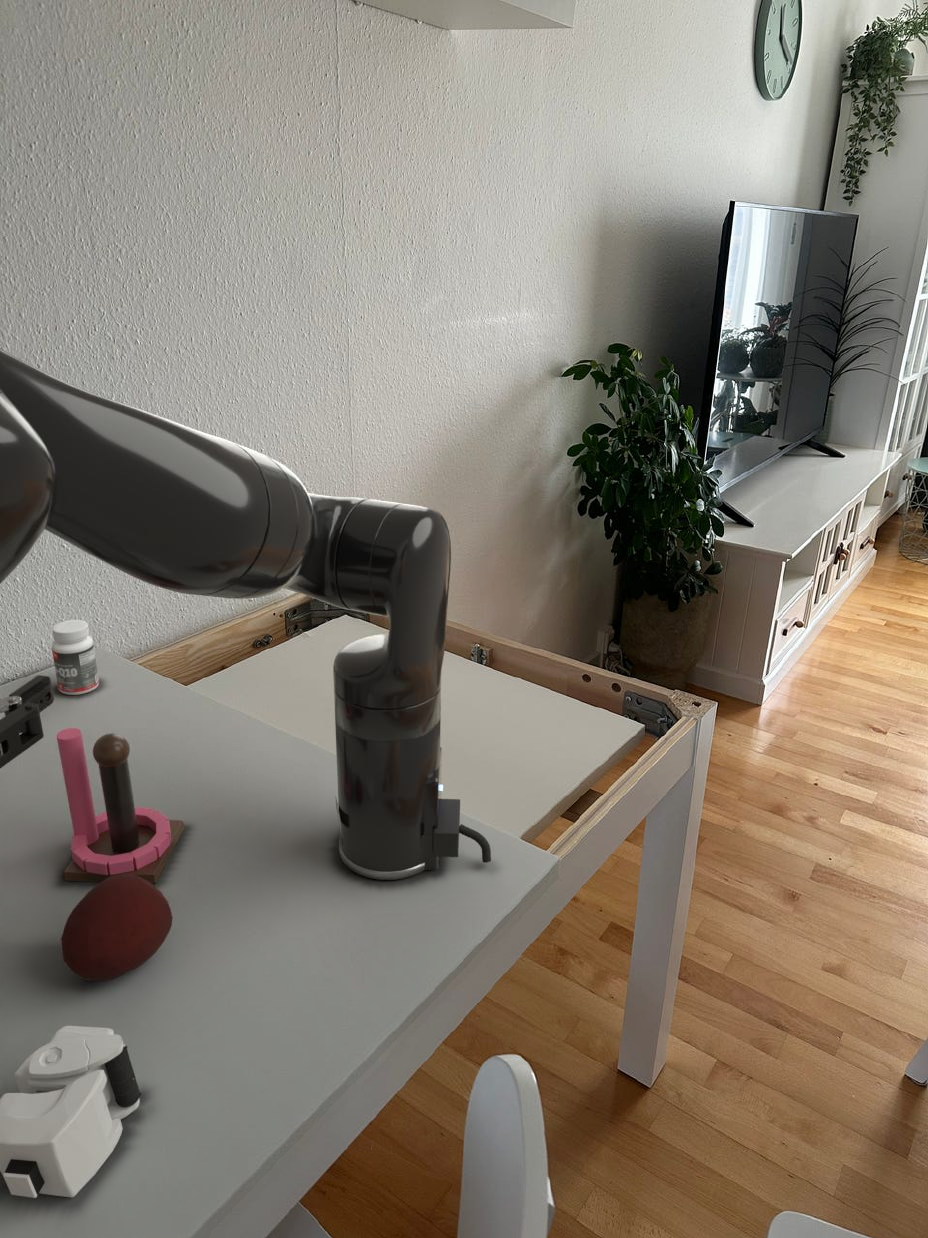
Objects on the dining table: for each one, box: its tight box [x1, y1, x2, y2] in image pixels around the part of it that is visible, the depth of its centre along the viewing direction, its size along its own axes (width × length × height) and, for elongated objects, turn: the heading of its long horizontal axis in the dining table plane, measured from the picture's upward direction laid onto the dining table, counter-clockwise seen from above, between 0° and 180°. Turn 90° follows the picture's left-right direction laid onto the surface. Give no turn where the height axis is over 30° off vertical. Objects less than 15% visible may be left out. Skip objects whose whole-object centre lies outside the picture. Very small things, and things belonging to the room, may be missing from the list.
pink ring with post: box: [56, 727, 171, 875], centre depth 80 cm, size 9×8×11 cm
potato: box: [60, 874, 173, 982], centre depth 69 cm, size 7×8×7 cm
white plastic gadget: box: [0, 1025, 142, 1199], centre depth 55 cm, size 6×7×10 cm
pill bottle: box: [51, 619, 100, 696], centre depth 110 cm, size 5×5×8 cm
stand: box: [63, 732, 185, 885], centre depth 80 cm, size 8×8×12 cm
